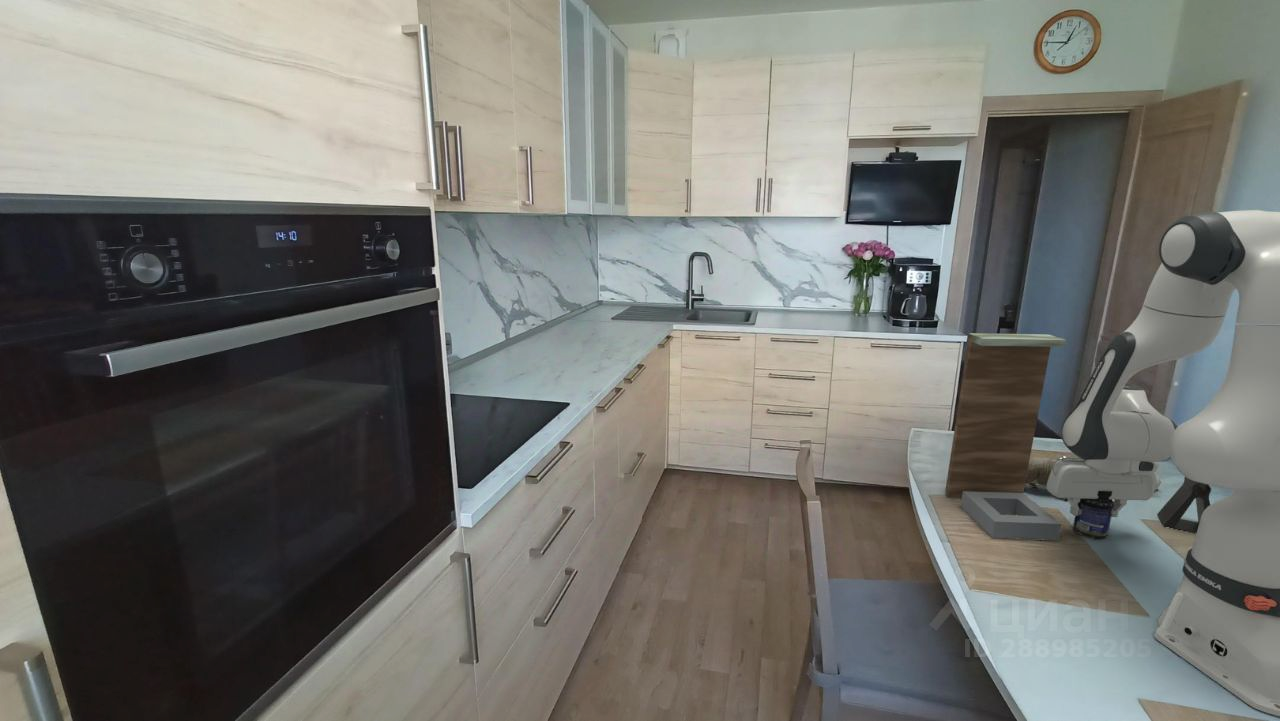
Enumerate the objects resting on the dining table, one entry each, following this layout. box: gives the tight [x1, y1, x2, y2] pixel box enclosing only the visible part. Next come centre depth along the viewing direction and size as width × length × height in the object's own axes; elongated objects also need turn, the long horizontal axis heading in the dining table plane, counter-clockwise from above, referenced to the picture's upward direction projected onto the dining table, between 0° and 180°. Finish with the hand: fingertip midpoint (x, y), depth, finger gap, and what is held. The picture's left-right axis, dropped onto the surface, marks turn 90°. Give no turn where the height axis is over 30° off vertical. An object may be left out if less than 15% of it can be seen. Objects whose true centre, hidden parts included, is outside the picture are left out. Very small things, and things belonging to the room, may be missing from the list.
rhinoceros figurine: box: [1025, 456, 1069, 503], centre depth 143 cm, size 8×14×15 cm
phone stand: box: [1156, 476, 1212, 534], centre depth 127 cm, size 9×6×12 cm, turn 59°
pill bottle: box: [1073, 491, 1114, 540], centre depth 124 cm, size 6×6×11 cm
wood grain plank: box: [944, 332, 1067, 499], centre depth 134 cm, size 6×18×42 cm, turn 87°
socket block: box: [960, 491, 1063, 541], centre depth 129 cm, size 14×14×4 cm
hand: (1093, 515), depth 125 cm, fingers closed on pill bottle, 6 cm apart
